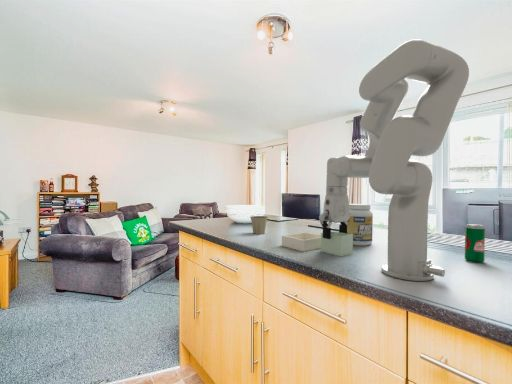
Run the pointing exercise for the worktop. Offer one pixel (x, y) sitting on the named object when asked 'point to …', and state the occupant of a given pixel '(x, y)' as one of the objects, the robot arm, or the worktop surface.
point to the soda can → (475, 243)
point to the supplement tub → (360, 224)
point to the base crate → (302, 241)
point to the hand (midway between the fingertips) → (334, 236)
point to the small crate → (337, 244)
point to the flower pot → (259, 224)
